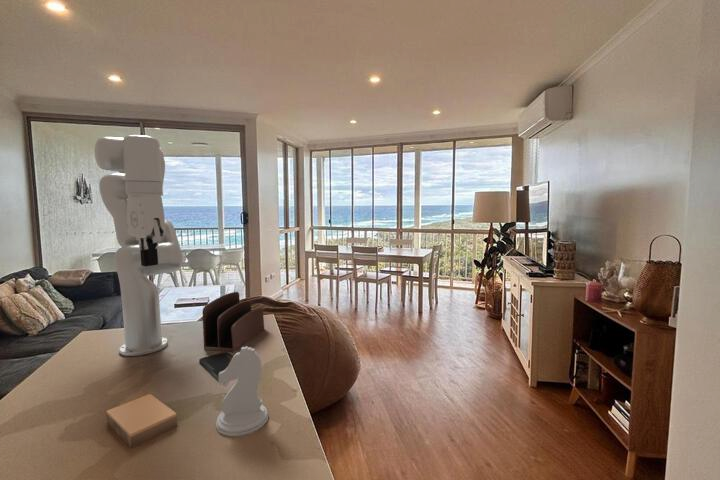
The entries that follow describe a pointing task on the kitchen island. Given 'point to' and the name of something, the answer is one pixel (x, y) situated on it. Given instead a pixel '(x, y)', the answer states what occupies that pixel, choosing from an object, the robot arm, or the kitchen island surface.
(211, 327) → the letter holder
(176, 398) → the kitchen island surface
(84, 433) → the kitchen island surface
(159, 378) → the kitchen island surface
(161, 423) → the tan flat block
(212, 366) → the phone
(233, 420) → the chess piece
